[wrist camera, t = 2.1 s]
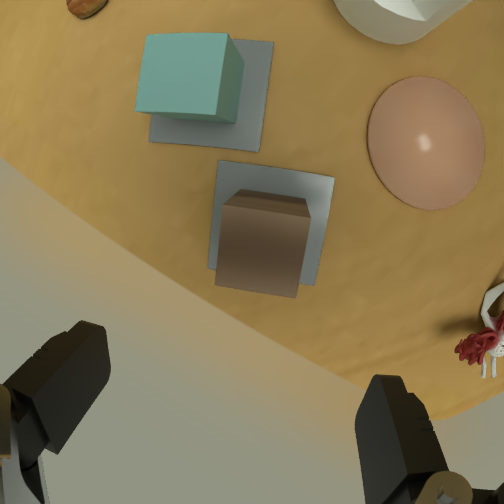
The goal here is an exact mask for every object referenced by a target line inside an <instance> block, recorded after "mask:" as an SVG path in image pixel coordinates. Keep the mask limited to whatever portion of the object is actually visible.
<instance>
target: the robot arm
mask: <svg viewBox="0 0 504 504" xmlns="http://www.w3.org/2000/svg"><path fill="white" fill-rule="evenodd" d="M110 372H111V364H110V357H109V351H108V343H107V335H106V330H105V328H104V327H103V326H100V325H97V324H93V323H90V322H86V321H83V320H81V321H79V322H78V323H77V324H76V325H74V326H73V327H72V328H71V329H70V330H69V331H68V332H66V331H64V332H62V333H60V334H58V335H56V336H54V337H52V338H50V339H49V340H48V341H47V342H46V343H45V344H44V345H43V346H42V347H41V349H38V351H36V352H35V353H34V354H33V357H30V358H29V359H28V360H27V361H26V362H25V363H24V364H23V365H22V366H21V367H20V368H19V369H18V370H16V371H15V372H14V374H12V375H11V376H10V377H9V378H8V379H7V380H6V382H4V383H3V384H0V504H50V501H49V496H48V491H47V487H46V481H45V475H44V468H43V462H42V457H41V455H40V454H41V453H42V451H43V450H44V448H45V449H47V450H49V451H51V452H53V453H55V454H59V452H60V450H61V449H62V448H63V446H64V445H65V443H66V441H67V440H68V439H69V437H70V436H71V434H72V433H73V431H74V430H75V428H76V427H77V425H78V424H79V422H80V421H81V420H82V418H83V417H84V415H85V414H86V412H87V411H88V409H89V408H90V407H91V405H92V404H93V402H94V401H95V399H96V398H97V396H98V395H99V394H100V392H101V391H102V389H103V388H104V386H105V385H106V384H107V382H108V380H109V376H110ZM355 433H356V439H357V445H358V452H359V459H360V465H361V472H362V479H363V486H364V495H365V502H366V504H504V483H503V484H502V485H501V486H500V487H499V488H498V489H496V490H483V489H473V488H471V486H470V484H469V483H468V481H467V480H466V479H465V478H464V477H463V476H461V475H459V474H457V473H455V472H451V471H449V469H448V467H447V463H446V461H445V458H444V455H443V452H442V450H441V447H440V444H439V442H438V439H437V436H436V434H435V431H433V426H432V423H431V421H430V420H429V416H428V413H427V411H426V409H425V406H424V404H423V403H422V402H421V401H420V400H419V399H418V398H417V397H416V395H415V394H414V393H407V390H406V388H405V385H404V383H403V380H402V378H401V377H400V376H395V375H378V374H376V375H374V376H373V378H372V380H371V382H370V384H369V387H368V389H367V391H366V393H365V396H364V398H363V400H362V402H361V404H360V407H359V409H358V411H357V414H356V419H355Z"/></svg>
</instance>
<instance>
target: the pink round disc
mask: <svg viewBox="0 0 504 504" xmlns="http://www.w3.org/2000/svg"><path fill="white" fill-rule="evenodd" d="M367 145H368V151H369V155H370V159H371V162H372V165H373V167H374V169H375V171H376V173H377V175H378V177H379V179H380V180H381V181H382V183H383V184H384V186H385V187H386V188H387V189H388V190H389V191H390V192H391V193H392V194H393V195H395V196H396V197H397V198H399V199H400V200H402V201H403V202H405V203H407V204H409V205H411V206H413V207H416V208H420V209H425V210H440V209H445V208H448V207H451V206H453V205H455V204H457V203H458V202H460V201H461V200H463V199H464V198H465V197H466V196H467V195H468V194H469V193H470V192H471V191H472V190H473V188H474V187H475V185H476V183H477V182H478V179H479V177H480V175H481V172H482V169H483V165H484V160H485V140H484V134H483V130H482V126H481V123H480V120H479V118H478V116H477V114H476V112H475V110H474V109H473V107H472V105H471V104H470V103H469V101H468V100H467V99H466V98H465V97H464V96H463V95H462V94H461V93H460V92H459V91H458V90H457V89H455V88H454V87H453V86H451V85H449V84H448V83H446V82H444V81H441V80H439V79H435V78H432V77H425V76H416V77H410V78H406V79H403V80H401V81H399V82H397V83H395V84H393V85H392V86H390V87H389V88H388V89H386V90H385V91H384V93H383V94H382V95H381V96H380V97H379V99H378V100H377V101H376V103H375V105H374V107H373V109H372V112H371V115H370V117H369V122H368V129H367Z"/></svg>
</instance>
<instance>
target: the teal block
mask: <svg viewBox="0 0 504 504" xmlns="http://www.w3.org/2000/svg"><path fill="white" fill-rule="evenodd" d="M243 69H244V61H243V59H242V57H241V55H240V54H239V52H238V50H237V48H236V47H235V45H234V43H233V41H232V40H231V38H230V36H229V34H228V33H169V34H151V35H147V37H146V42H145V47H144V53H143V58H142V64H141V70H140V76H139V83H138V90H137V97H136V105H135V112H141V113H147V114H152V115H157V116H162V117H168V118H172V119H187V120H202V121H214V122H225V123H235V124H236V120H237V112H238V105H239V98H240V90H241V83H242V76H243Z"/></svg>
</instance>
